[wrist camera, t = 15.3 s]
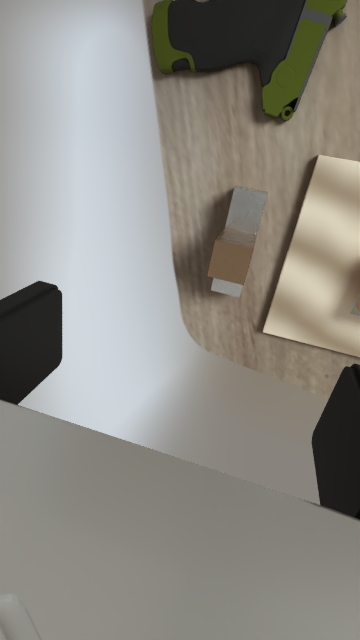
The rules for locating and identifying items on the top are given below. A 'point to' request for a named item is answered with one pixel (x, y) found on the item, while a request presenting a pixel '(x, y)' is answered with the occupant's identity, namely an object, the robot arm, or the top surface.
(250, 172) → the top surface
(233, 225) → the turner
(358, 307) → the tile
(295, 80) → the gun
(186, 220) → the top surface
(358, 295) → the board
